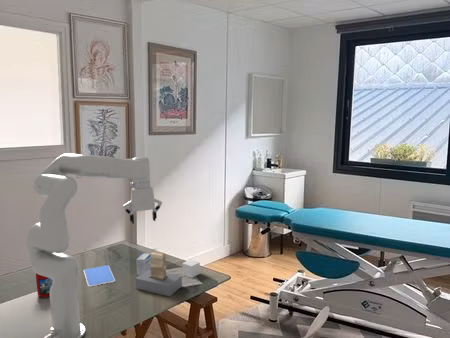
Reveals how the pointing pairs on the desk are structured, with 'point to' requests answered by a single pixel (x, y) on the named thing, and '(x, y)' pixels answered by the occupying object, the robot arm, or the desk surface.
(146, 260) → the medicine box
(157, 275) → the wooden block
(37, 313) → the desk surface
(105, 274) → the tablet computer
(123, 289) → the desk surface
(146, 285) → the grey slotted block
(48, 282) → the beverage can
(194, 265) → the white cube
